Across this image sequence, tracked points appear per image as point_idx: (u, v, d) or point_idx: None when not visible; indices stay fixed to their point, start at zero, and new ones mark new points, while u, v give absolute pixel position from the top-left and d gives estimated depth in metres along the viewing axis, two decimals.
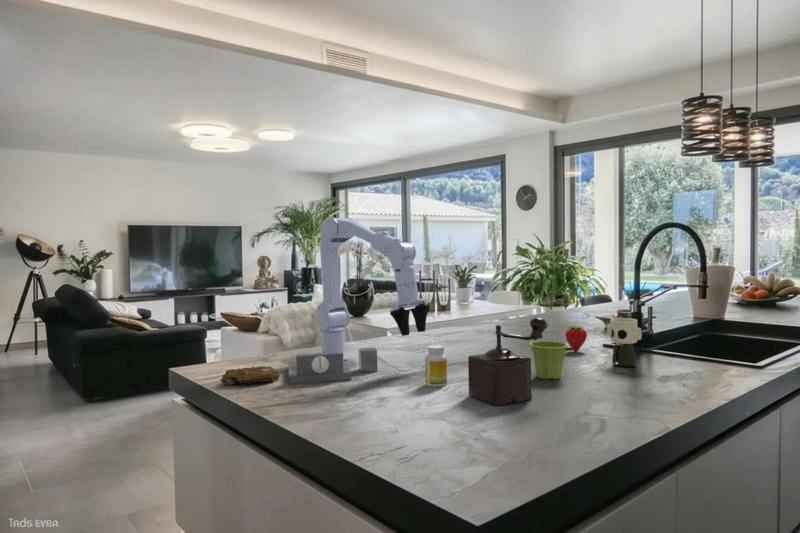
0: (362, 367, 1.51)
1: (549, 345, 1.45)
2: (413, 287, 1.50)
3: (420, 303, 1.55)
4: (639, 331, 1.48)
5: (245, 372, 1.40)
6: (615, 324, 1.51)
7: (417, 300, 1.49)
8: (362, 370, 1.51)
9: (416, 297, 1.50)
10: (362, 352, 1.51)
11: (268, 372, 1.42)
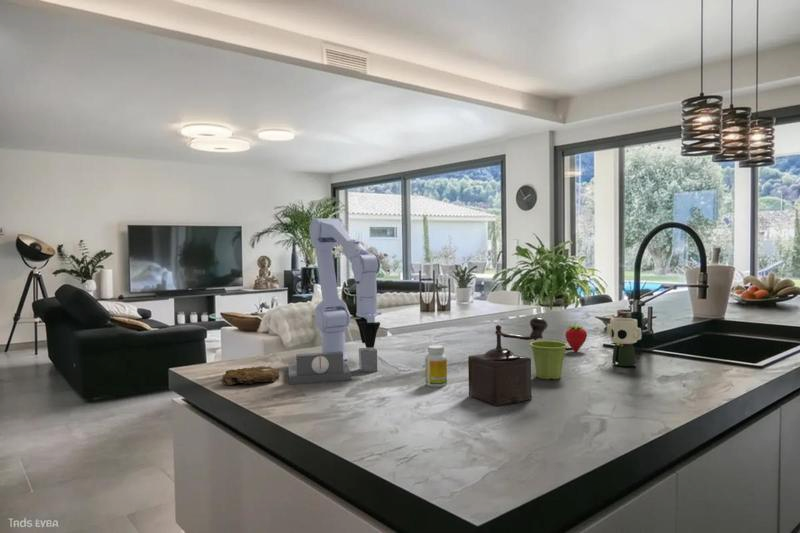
0: (362, 367, 1.51)
1: (549, 345, 1.45)
2: (376, 300, 1.53)
3: None
4: (639, 331, 1.48)
5: (245, 372, 1.40)
6: (615, 324, 1.51)
7: (380, 313, 1.53)
8: (362, 370, 1.51)
9: None
10: (362, 352, 1.51)
11: (268, 372, 1.42)
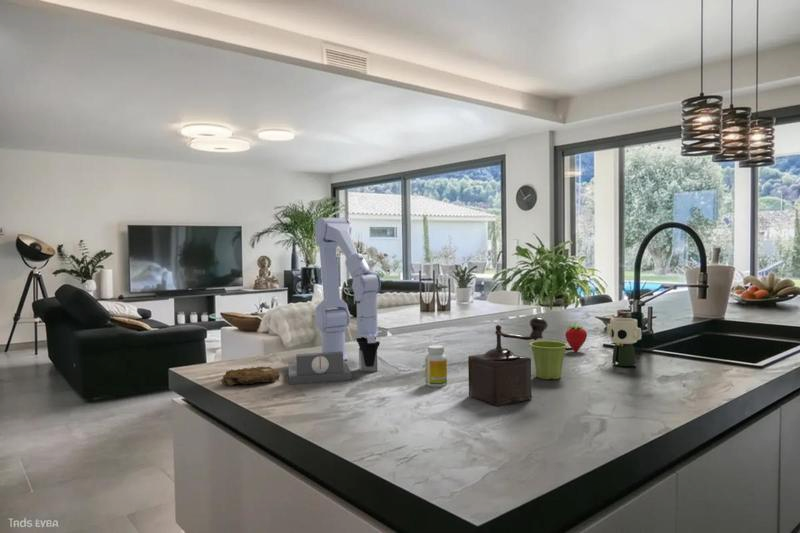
0: (362, 367, 1.51)
1: (549, 345, 1.45)
2: None
3: None
4: (639, 331, 1.48)
5: (246, 372, 1.39)
6: (615, 324, 1.51)
7: (380, 333, 1.53)
8: (362, 370, 1.51)
9: None
10: (362, 352, 1.51)
11: (269, 372, 1.42)
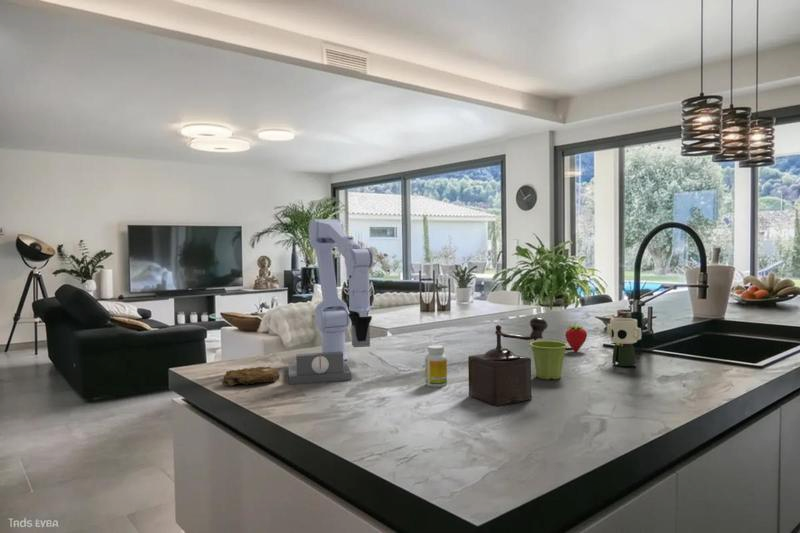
0: (354, 342, 1.51)
1: (549, 345, 1.45)
2: (369, 294, 1.53)
3: None
4: (639, 331, 1.48)
5: (247, 373, 1.39)
6: (615, 324, 1.51)
7: (373, 307, 1.53)
8: (354, 345, 1.51)
9: None
10: (354, 327, 1.51)
11: (270, 372, 1.41)
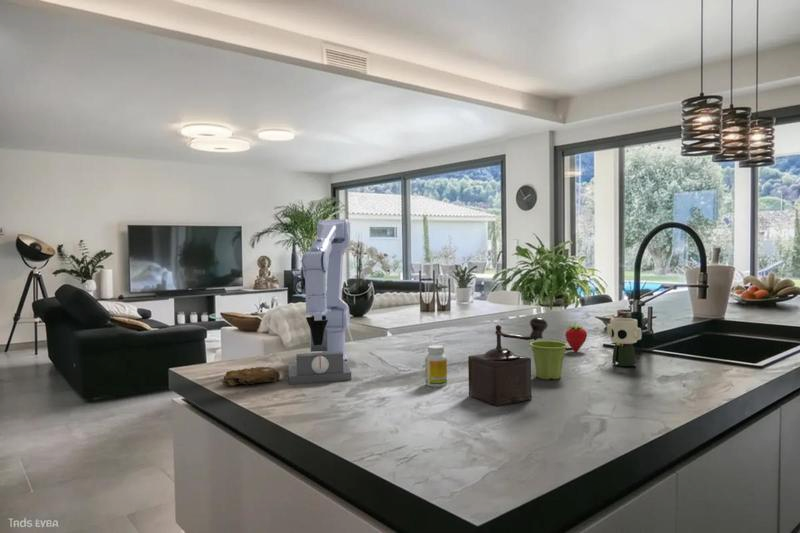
0: (311, 346, 1.49)
1: (549, 345, 1.45)
2: (326, 298, 1.51)
3: None
4: (639, 331, 1.48)
5: (247, 373, 1.39)
6: (615, 324, 1.51)
7: (329, 311, 1.51)
8: (311, 349, 1.49)
9: (326, 308, 1.52)
10: None
11: (270, 372, 1.41)
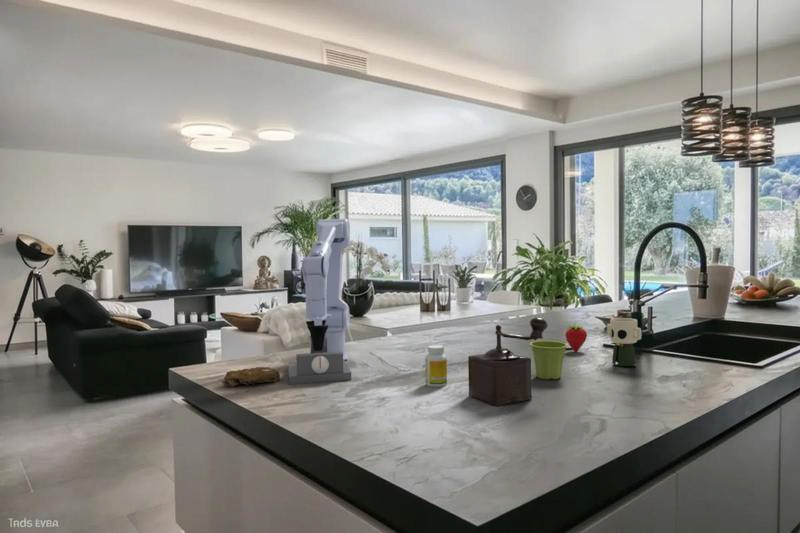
0: None
1: (549, 345, 1.45)
2: (326, 302, 1.51)
3: None
4: (639, 331, 1.48)
5: (248, 373, 1.39)
6: (615, 324, 1.51)
7: (330, 316, 1.51)
8: None
9: (326, 312, 1.52)
10: None
11: (271, 372, 1.41)
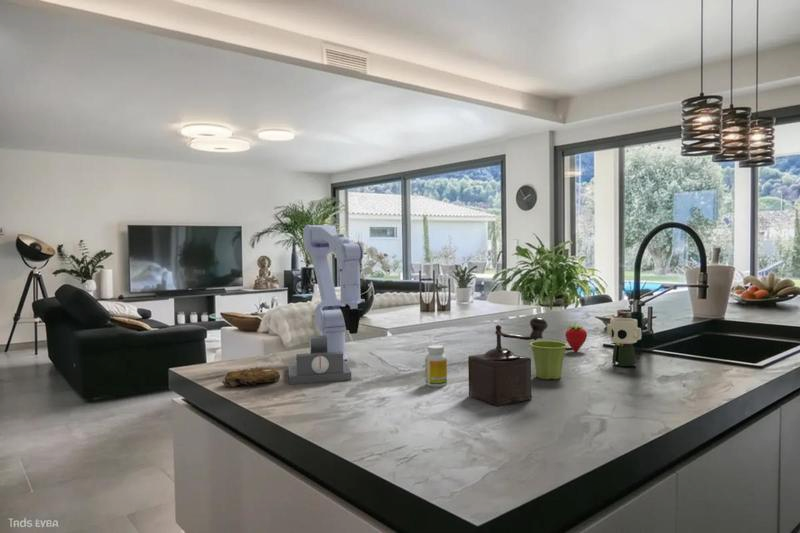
0: None
1: (549, 345, 1.45)
2: None
3: None
4: (639, 331, 1.48)
5: (249, 373, 1.38)
6: (615, 324, 1.51)
7: (363, 300, 1.57)
8: None
9: None
10: (312, 340, 1.49)
11: (271, 372, 1.41)
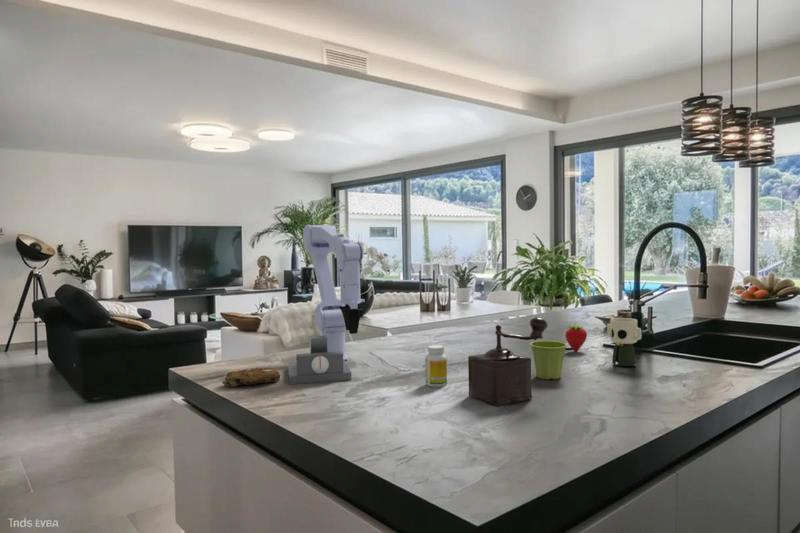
0: None
1: (549, 345, 1.45)
2: None
3: None
4: (639, 331, 1.48)
5: (249, 373, 1.38)
6: (615, 324, 1.51)
7: (363, 300, 1.57)
8: None
9: None
10: (312, 340, 1.49)
11: (271, 372, 1.41)
